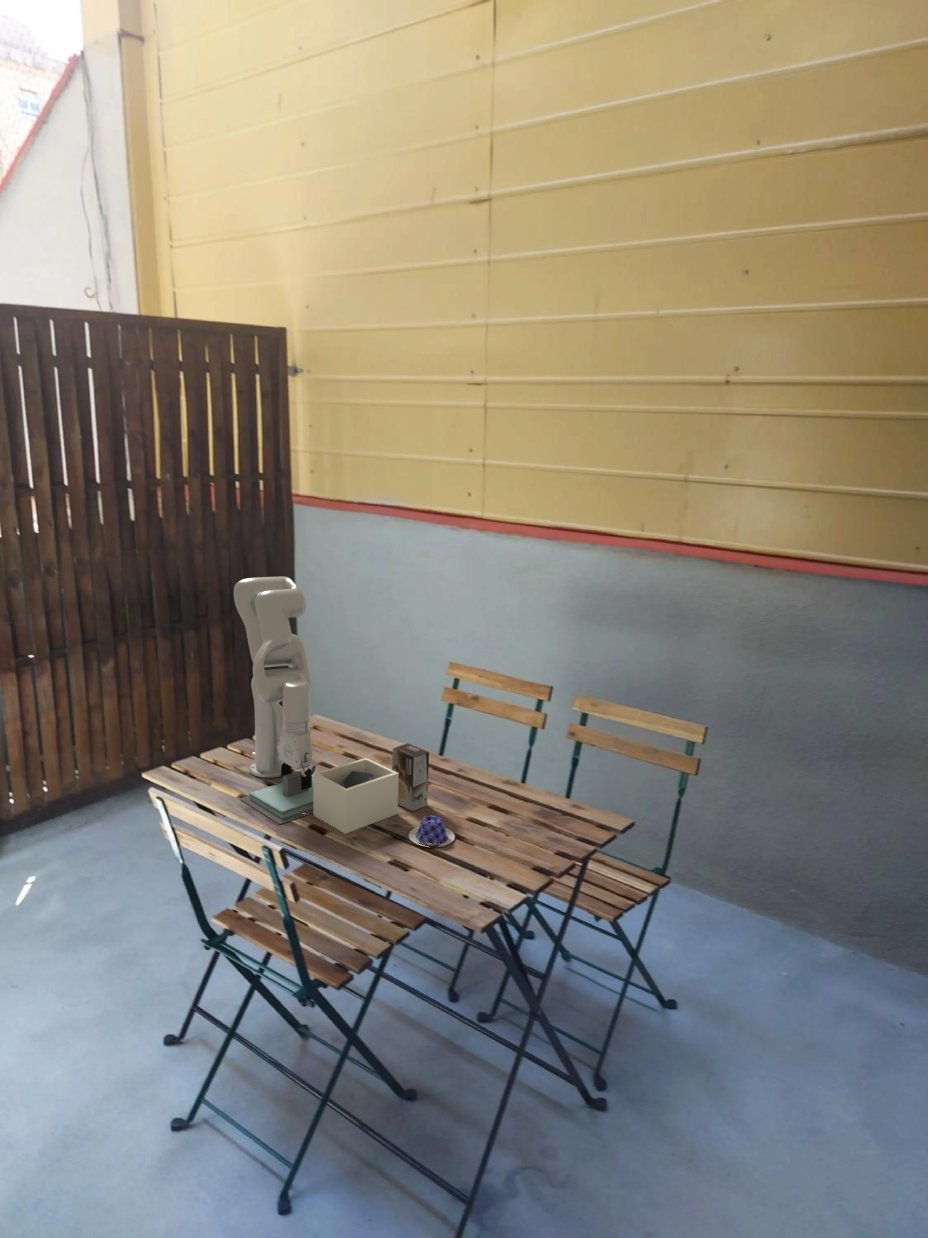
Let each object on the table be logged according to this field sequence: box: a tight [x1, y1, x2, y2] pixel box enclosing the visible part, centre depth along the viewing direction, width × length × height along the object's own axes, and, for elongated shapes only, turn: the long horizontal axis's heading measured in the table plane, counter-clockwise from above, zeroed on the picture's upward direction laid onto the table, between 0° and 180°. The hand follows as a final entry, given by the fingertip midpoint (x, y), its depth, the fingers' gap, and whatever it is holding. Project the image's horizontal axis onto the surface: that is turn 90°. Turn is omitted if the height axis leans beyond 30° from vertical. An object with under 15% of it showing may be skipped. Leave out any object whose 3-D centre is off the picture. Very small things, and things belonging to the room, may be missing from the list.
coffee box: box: [391, 743, 430, 812], centre depth 233 cm, size 9×6×16 cm
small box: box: [340, 771, 373, 789], centre depth 225 cm, size 11×6×10 cm, turn 168°
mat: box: [239, 795, 313, 826], centre depth 234 cm, size 20×24×1 cm
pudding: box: [408, 815, 456, 848], centre depth 215 cm, size 12×12×5 cm
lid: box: [248, 770, 314, 819], centre depth 233 cm, size 16×20×7 cm
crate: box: [312, 757, 399, 835], centre depth 225 cm, size 14×18×12 cm
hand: (296, 782), depth 233 cm, fingers open, 9 cm apart
